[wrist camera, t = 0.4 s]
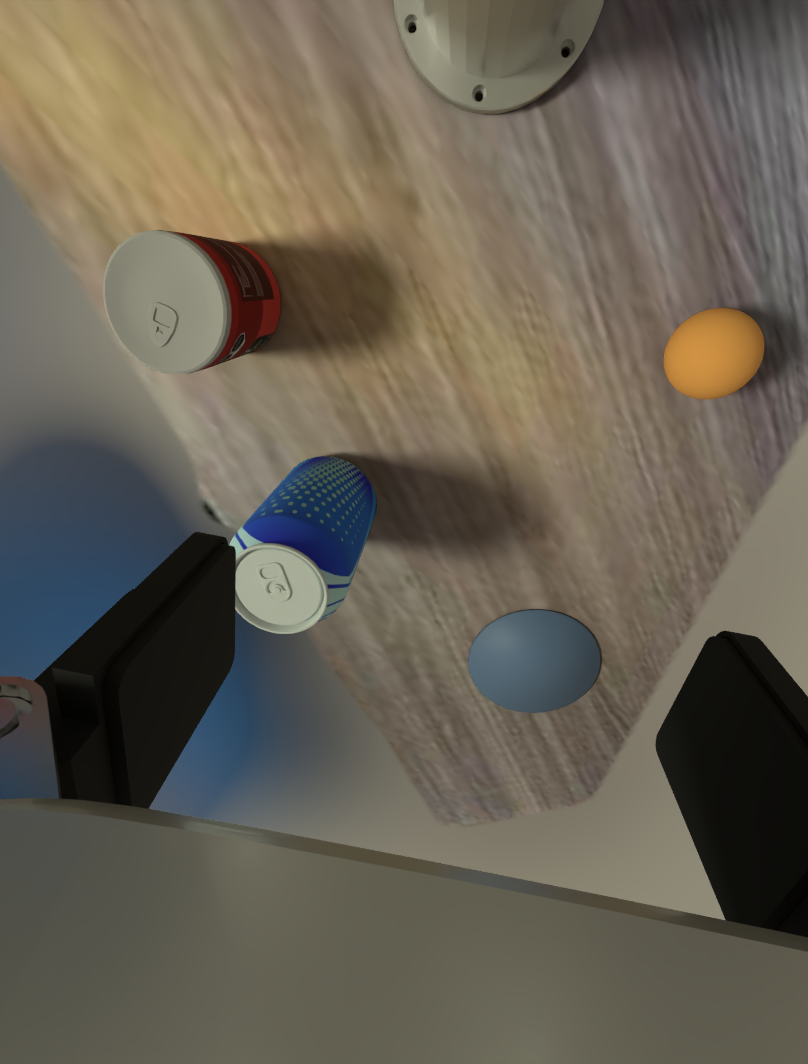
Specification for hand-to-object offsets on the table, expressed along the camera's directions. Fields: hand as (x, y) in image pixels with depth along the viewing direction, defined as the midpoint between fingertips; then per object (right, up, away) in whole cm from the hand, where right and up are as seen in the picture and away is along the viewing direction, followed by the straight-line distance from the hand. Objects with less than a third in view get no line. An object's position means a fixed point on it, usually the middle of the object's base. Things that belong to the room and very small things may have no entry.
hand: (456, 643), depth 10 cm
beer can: (-7, +5, +37) cm, 38 cm away
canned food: (-14, +20, +30) cm, 39 cm away
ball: (+20, +15, +26) cm, 36 cm away
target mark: (+12, -11, +42) cm, 45 cm away
